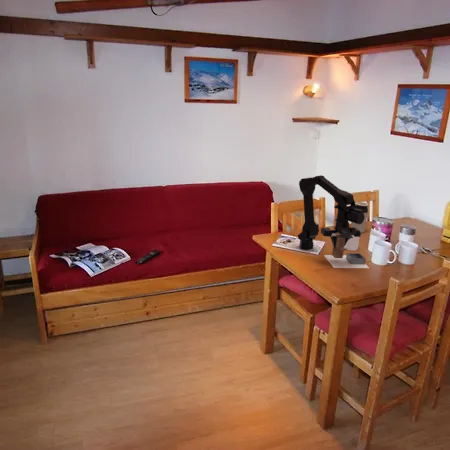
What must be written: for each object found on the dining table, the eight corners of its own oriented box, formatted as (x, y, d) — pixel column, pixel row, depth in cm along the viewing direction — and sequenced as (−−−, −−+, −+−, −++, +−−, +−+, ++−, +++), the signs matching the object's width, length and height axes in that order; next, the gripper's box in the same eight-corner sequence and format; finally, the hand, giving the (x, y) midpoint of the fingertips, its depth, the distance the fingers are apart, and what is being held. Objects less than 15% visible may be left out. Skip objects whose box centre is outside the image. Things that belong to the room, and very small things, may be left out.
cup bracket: (351, 264, 203) (352, 258, 202) (345, 258, 210) (346, 253, 209) (364, 264, 203) (365, 258, 202) (359, 258, 210) (360, 253, 209)
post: (334, 258, 203) (337, 237, 199) (332, 254, 206) (334, 234, 203) (342, 258, 203) (345, 237, 199) (339, 255, 207) (342, 234, 203)
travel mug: (366, 233, 252) (370, 205, 247) (353, 232, 252) (357, 205, 247) (362, 229, 260) (366, 202, 254) (349, 228, 260) (354, 201, 254)
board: (333, 269, 198) (334, 267, 198) (323, 256, 213) (323, 255, 213) (369, 269, 200) (369, 268, 199) (356, 257, 215) (356, 255, 214)
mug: (346, 254, 218) (349, 236, 214) (334, 249, 224) (337, 232, 221) (360, 250, 224) (363, 232, 221) (348, 245, 231) (350, 228, 227)
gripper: (329, 223, 190) (325, 254, 195) (367, 224, 192) (362, 254, 196) (322, 216, 200) (318, 245, 205) (358, 217, 202) (353, 246, 207)
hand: (338, 248), depth 203 cm, fingers closed on post, 4 cm apart
